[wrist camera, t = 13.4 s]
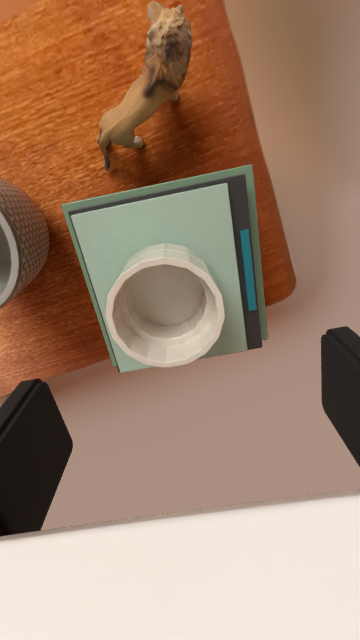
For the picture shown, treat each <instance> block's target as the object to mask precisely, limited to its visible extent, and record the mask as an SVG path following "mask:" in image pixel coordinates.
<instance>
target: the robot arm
mask: <svg viewBox="0 0 360 640" xmlns="http://www.w3.org/2000/svg"><path fill="white" fill-rule="evenodd" d="M321 369H322V370H321V371H322V405H323V408H324V411H325V413H326V414H327V416H328V418H329V419H330V420H331V422H332V424H333V426H334V427H335V429H336V430H337V432H338V433H339V435H340V436H341V438H342V439H343V441H344V443H345V444H346V446H347V448H348V449H349V451H350V452H351V454H352V455H353V457H354V459H355V460H356V462H357V463H358V465H359V466H360V337H359V336H358V335H357V334H356V333H355V332H353V331H352V330H351V329H350V328H348V327H340V328H334V329H329V330H327V332H326V334H325V335H322V337H321ZM72 447H73V443H72V439H71V436H70V434H69V432H68V430H67V428H66V425H65V423H64V420H63V419H62V416H61V414H60V411H59V409H58V407H57V405H56V402H55V400H54V398H53V395H52V393H51V391H50V389H49V386H48V384H47V383H45V382H42V381H41V380H40V379H33V380H28V381H22V382H20V383H19V385H18V386H17V387H16V388H15V390H14V391H13V392H12V393H11V395H10V396H9V397H8V399H7V400H6V401H5V402H4V404H3V405H2V406H1V407H0V640H360V490H350V491H341V492H332V493H323V494H315V495H307V496H299V497H291V498H284V499H276V500H268V501H260V502H252V503H244V504H237V505H228V506H220V507H212V508H205V509H197V510H189V511H182V512H174V513H167V514H159V515H152V516H144V517H136V518H129V519H122V520H114V521H107V522H100V523H92V524H85V525H78V526H70V527H63V528H56V529H49V530H42V531H40V530H41V527H42V525H43V522H44V520H45V517H46V515H47V512H48V510H49V507H50V505H51V502H52V500H53V497H54V495H55V492H56V490H57V487H58V485H59V482H60V480H61V477H62V474H63V472H64V469H65V467H66V464H67V462H68V459H69V457H70V454H71V452H72Z"/></svg>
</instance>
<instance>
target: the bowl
mask: <svg viewBox="0 0 360 640" xmlns="http://www.w3.org/2000/svg"><path fill="white" fill-rule="evenodd" d="M105 316H106V320H107V324H108V327H109V330H110V333H111V336H112V338H113V339H114V341H115V342H116V343H117V344H118V345H119V346H120V348H121V349H122V350H123V351H124V352H125V353H126V354H127V355H129V356H130V357H132V358H134V359H136V360H138V361H139V362H141V363H143V364H145V365H151V366H157V367H164V368H169V367H175V366H180V365H186V364H189V363H190V362H192V361H194V360H196V359H198V358H199V357H201V356H203V355H204V354H206V353H207V352H208V351H209V349H210V348H211V347H212V346H213V344H214V343H215V342H216V341H217V339H218V338H219V336H220V333H221V330H222V326H223V323H224V319H225V311H224V304H223V298H222V294H221V291H220V289H219V287H218V285H217V283H216V280H215V278H214V276H213V273H212V272H211V270H210V269H209V267H208V265H207V264H206V262H205V261H204V259H202V257H200V256H199V255H198V254H196V253H195V252H193V251H192V250H190V249H189V248H186V247H185V246H180V245H175V244H170V243H167V244H166V243H163V244H158V245H153V246H148V247H145V248H144V249H142V250H141V251H140V252H138V253H137V254H135V255H134V256H132V257H131V258H130V259H129V261H128V262H127V264H126V266H125V267H124V269H123V270H122V272H121V274H120V275H119V277H118V279H117V280H116V282H115V284H114V286H113V287H112V289H111V291H110V292H109V294H108V299H107V307H106V315H105Z"/></svg>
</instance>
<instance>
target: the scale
mask: <svg viewBox="0 0 360 640" xmlns="http://www.w3.org/2000/svg"><path fill="white" fill-rule="evenodd" d="M68 214H69V217H70V220H71V224H72V227H73V230H74V233H75V236H76V239H77V242H78V245H79V249H80V252H81V255H82V258H83V261H84V264H85V267H86V271H87V274H88V277H89V280H90V283H91V286H92V289H93V292H94V296H95V299H96V302H97V305H98V308H99V311H100V314H101V318H102V321H103V324H104V327H105V330H106V333H107V336H108V339H109V343H110V346H111V349H112V352H113V355H114V358H115V361H116V365H117V367H118V371H119V372H120V373H123V372H128V371H134V370H140V369H145V368H151V367H157V366H151V365H145V364H143V363H141V362H139V361H138V360H136V359H134V358H132V357H130V356H129V355H127V354H126V353H125V352H124V351H123V350H122V349H121V348H120V346H119V345H118V344H117V343H116V342H115V341H114V339H113V338H112V336H111V333H110V330H109V327H108V324H107V320H106V316H105V315H106V307H107V299H108V294H109V292H110V291H111V289H112V287H113V286H114V284H115V282H116V280H117V279H118V277H119V275H120V274H121V272H122V270H123V269H124V267H125V266H126V264H127V262H128V261H129V259H130V258H131V257H132V256H134V255H135V254H137V253H138V252H140V251H141V250H142V249H144V248H145V247H148V246H153V245H158V244H163V243H166V244H167V243H170V244H175V245H180V246H185V247H186V248H189V249H190V250H192V251H193V252H195V253H196V254H198V255H199V256H200V257H202V259H204V261H205V262H206V264H207V265H208V267H209V269H210V270H211V272H212V273H213V276H214V278H215V280H216V283H217V285H218V287H219V289H220V291H221V294H222V298H223V304H224V311H225V319H224V323H223V326H222V330H221V333H220V336H219V338H218V339H217V341H216V342H215V343H214V344H213V346H212V347H211V348H210V349H209V351H208V352H207V353H206V354H204V355H203V356H201V357H199V358H198V359H202V358H208V357H214V356H219V355H225V354H231V353H236V352H242V351H247V350H250V349H255V348H261V347H262V339H261V329H260V319H259V309H258V299H257V288H256V278H255V268H254V258H253V248H252V238H251V227H250V217H249V207H248V197H247V187H246V176H245V174H241V175H236V176H231V177H226V178H221V179H217V180H212V181H207V182H202V183H198V184H193V185H188V186H183V187H178V188H174V189H169V190H164V191H159V192H155V193H150V194H145V195H140V196H135V197H131V198H126V199H121V200H116V201H111V202H107V203H102V204H97V205H92V206H88V207H83V208H78V209H74V210H70V211H68Z"/></svg>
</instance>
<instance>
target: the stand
mask: <svg viewBox="0 0 360 640" xmlns="http://www.w3.org/2000/svg"><path fill="white" fill-rule="evenodd" d="M241 174H245V176H246V187H247V197H248V207H249V217H250V227H251V238H252V248H253V258H254V268H255V278H256V288H257V299H258V309H259V319H260V329H261V339H262V340H266V339H268V333H267V321H266V310H265V299H264V287H263V276H262V265H261V253H260V242H259V231H258V220H257V208H256V197H255V186H254V175H253V165H252V164H251V165H246V166H241V167H236V168H232V169H227V170H222V171H217V172H213V173H208V174H203V175H198V176H194V177H189V178H184V179H179V180H175V181H170V182H165V183H160V184H156V185H151V186H146V187H141V188H137V189H132V190H127V191H122V192H118V193H113V194H108V195H103V196H99V197H94V198H89V199H84V200H80V201H75V202H70V203H65V204H62V205H61V207H62V210H63V213H64V216H65V219H66V222H67V225H68V228H69V231H70V235H71V238H72V241H73V244H74V247H75V250H76V253H77V256H78V259H79V262H80V265H81V268H82V271H83V275H84V278H85V281H86V284H87V287H88V290H89V293H90V296H91V299H92V302H93V305H94V308H95V312H96V315H97V318H98V321H99V324H100V327H101V330H102V333H103V336H104V339H105V342H106V345H107V348H108V352H109V355H110V358H111V361H112V364H113V366H117V365H116V361H115V358H114V355H113V352H112V349H111V346H110V343H109V339H108V336H107V333H106V330H105V327H104V324H103V321H102V318H101V314H100V311H99V308H98V305H97V302H96V299H95V296H94V292H93V289H92V286H91V283H90V280H89V277H88V274H87V271H86V267H85V264H84V261H83V258H82V255H81V252H80V249H79V245H78V242H77V239H76V236H75V233H74V230H73V227H72V224H71V220H70V217H69V214H68V211H70V210H74V209H78V208H83V207H88V206H92V205H97V204H102V203H107V202H111V201H116V200H121V199H126V198H131V197H135V196H140V195H145V194H150V193H155V192H159V191H164V190H169V189H174V188H178V187H183V186H188V185H193V184H198V183H202V182H207V181H212V180H217V179H221V178H226V177H231V176H236V175H241Z"/></svg>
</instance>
